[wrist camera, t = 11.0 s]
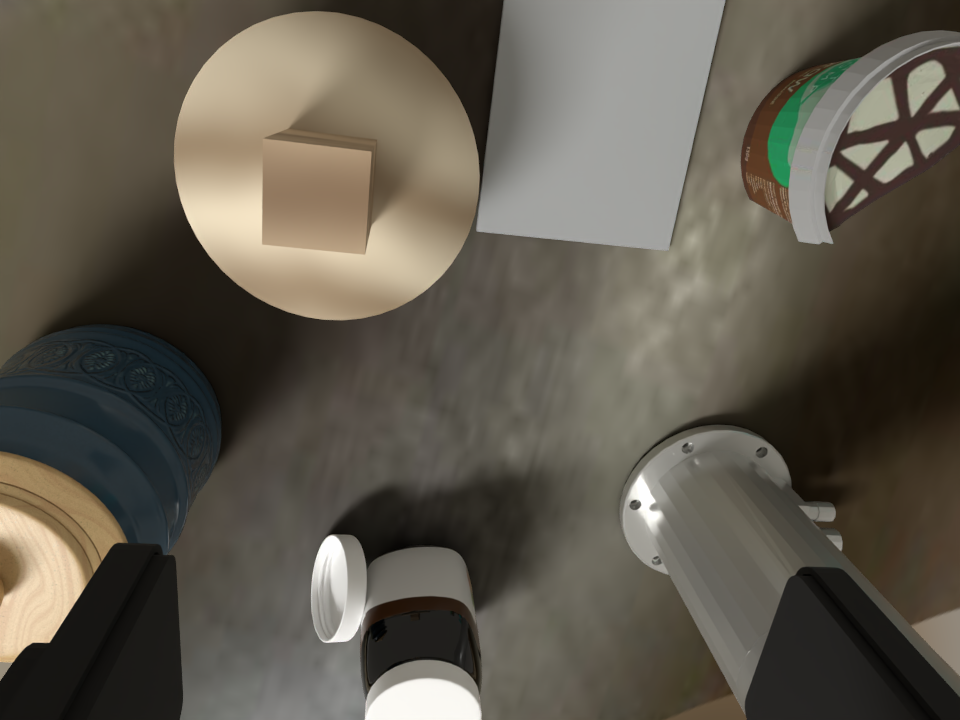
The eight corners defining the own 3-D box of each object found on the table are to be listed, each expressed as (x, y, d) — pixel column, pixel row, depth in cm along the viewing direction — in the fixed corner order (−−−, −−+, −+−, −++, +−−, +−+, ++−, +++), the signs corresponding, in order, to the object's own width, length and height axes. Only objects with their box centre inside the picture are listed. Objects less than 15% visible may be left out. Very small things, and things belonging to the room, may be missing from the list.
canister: (60, 276, 39) (-187, 416, 22) (264, 387, 42) (179, 575, 26) (-27, 444, 42) (-299, 672, 26) (169, 533, 46) (42, 780, 30)
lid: (460, 325, 36) (472, 377, 29) (185, 301, 34) (135, 352, 27) (495, 38, 31) (519, 26, 24) (174, -10, 29) (108, -37, 22)
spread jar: (476, 629, 52) (494, 770, 41) (328, 649, 51) (309, 799, 40) (462, 499, 47) (480, 621, 37) (301, 519, 47) (270, 649, 36)
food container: (871, -8, 37) (1024, -38, 28) (908, 89, 40) (1060, 90, 30) (682, 128, 39) (768, 141, 30) (728, 213, 41) (822, 250, 32)
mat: (722, -2, 37) (726, -3, 36) (665, 249, 42) (668, 250, 41) (507, -37, 35) (509, -38, 35) (475, 229, 40) (476, 231, 40)
